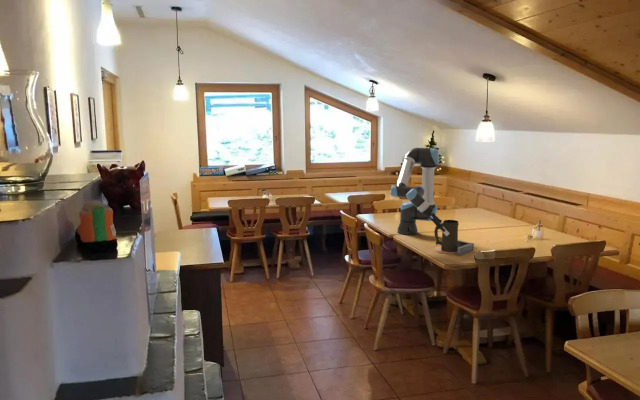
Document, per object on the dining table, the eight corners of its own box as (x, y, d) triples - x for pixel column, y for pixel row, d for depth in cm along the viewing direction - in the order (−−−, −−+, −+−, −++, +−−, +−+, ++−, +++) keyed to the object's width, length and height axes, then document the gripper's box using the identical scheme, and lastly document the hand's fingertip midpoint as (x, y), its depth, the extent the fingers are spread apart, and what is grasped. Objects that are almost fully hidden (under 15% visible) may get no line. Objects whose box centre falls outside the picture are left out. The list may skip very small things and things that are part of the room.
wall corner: (445, 244, 349) (445, 237, 348) (473, 250, 334) (473, 243, 333) (431, 249, 336) (431, 242, 335) (459, 256, 321) (460, 248, 321)
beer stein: (456, 247, 339) (455, 218, 335) (460, 252, 328) (460, 222, 325) (433, 249, 339) (432, 220, 335) (437, 253, 328) (436, 223, 325)
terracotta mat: (441, 246, 345) (441, 245, 345) (462, 250, 334) (462, 250, 334) (428, 250, 334) (428, 249, 333) (450, 255, 323) (450, 254, 323)
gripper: (420, 209, 344) (442, 231, 344) (421, 216, 320) (444, 240, 320) (429, 201, 343) (450, 224, 343) (430, 208, 318) (453, 233, 318)
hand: (447, 232), depth 331 cm, fingers open, 13 cm apart
